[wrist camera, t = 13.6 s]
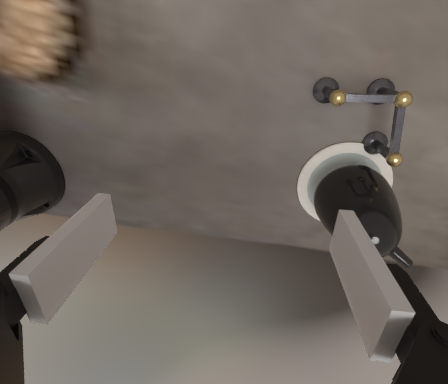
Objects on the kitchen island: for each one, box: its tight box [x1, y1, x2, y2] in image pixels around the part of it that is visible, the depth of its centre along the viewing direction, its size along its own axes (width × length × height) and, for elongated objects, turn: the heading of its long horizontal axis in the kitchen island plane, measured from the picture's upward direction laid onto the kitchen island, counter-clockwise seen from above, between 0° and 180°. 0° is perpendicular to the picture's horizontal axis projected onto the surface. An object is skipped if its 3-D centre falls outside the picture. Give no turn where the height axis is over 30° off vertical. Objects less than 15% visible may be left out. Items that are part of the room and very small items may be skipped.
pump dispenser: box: [313, 164, 413, 268], centre depth 36 cm, size 10×10×15 cm
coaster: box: [297, 142, 393, 221], centre depth 43 cm, size 14×14×1 cm
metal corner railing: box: [313, 78, 413, 167], centre depth 35 cm, size 11×10×8 cm
